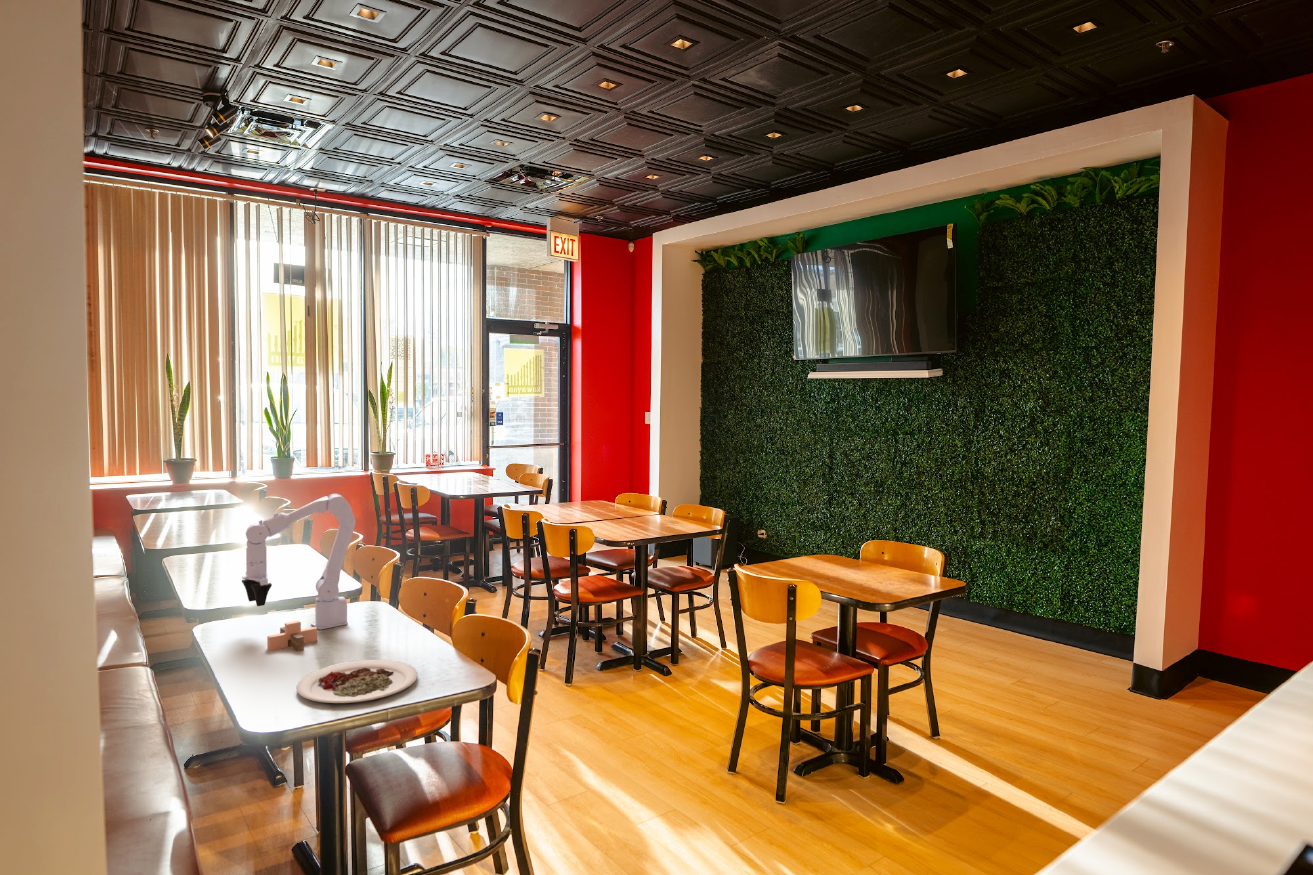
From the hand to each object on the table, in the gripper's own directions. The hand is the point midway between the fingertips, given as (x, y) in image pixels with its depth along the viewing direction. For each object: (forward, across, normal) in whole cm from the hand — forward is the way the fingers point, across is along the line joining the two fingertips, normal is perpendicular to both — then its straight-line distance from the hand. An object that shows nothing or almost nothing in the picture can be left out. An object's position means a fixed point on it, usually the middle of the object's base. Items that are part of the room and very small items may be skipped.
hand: (256, 603), depth 239 cm
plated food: (+10, +64, +5) cm, 65 cm away
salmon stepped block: (+10, +19, +4) cm, 22 cm away
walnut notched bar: (+10, +19, +4) cm, 22 cm away
